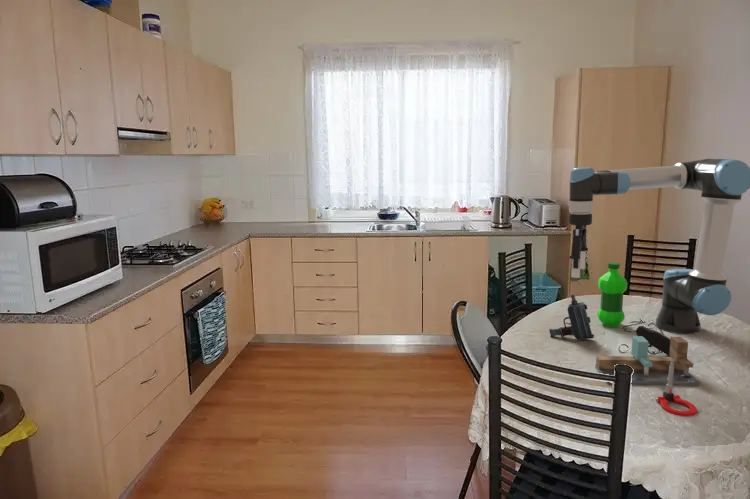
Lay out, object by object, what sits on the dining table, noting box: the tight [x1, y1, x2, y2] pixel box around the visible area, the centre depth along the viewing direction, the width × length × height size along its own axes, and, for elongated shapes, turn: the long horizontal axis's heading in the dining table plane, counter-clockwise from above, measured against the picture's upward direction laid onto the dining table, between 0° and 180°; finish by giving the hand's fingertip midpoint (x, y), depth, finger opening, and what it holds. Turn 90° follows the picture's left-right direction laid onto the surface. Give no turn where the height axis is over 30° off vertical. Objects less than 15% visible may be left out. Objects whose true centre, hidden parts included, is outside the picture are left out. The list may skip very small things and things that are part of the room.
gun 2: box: [635, 325, 671, 357], centre depth 178 cm, size 3×16×10 cm, turn 58°
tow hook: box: [655, 358, 698, 417], centre depth 141 cm, size 8×13×9 cm
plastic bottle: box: [597, 261, 628, 328], centre depth 207 cm, size 10×10×25 cm
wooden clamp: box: [595, 336, 694, 376], centre depth 163 cm, size 26×10×9 cm, turn 83°
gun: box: [548, 294, 595, 341], centre depth 195 cm, size 3×17×15 cm
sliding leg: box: [631, 335, 653, 376], centre depth 163 cm, size 3×10×9 cm, turn 173°
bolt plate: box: [595, 364, 700, 387], centre depth 162 cm, size 26×12×1 cm, turn 83°
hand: (578, 273), depth 185 cm, fingers open, 13 cm apart
